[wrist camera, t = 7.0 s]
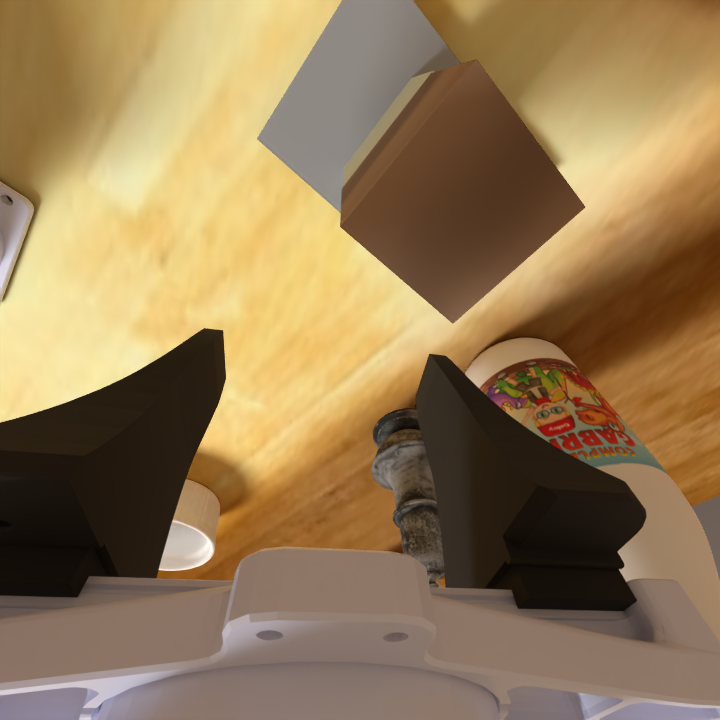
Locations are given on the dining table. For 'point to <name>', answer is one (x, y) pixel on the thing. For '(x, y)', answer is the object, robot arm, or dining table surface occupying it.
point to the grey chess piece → (410, 488)
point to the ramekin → (192, 529)
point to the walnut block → (456, 192)
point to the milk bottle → (604, 460)
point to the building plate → (350, 87)
